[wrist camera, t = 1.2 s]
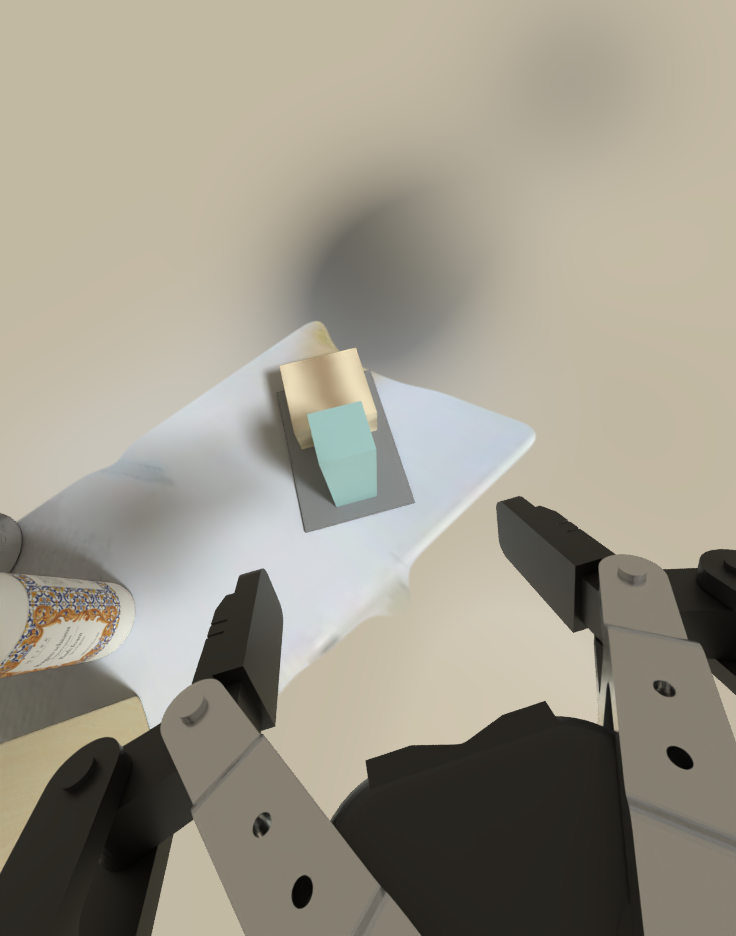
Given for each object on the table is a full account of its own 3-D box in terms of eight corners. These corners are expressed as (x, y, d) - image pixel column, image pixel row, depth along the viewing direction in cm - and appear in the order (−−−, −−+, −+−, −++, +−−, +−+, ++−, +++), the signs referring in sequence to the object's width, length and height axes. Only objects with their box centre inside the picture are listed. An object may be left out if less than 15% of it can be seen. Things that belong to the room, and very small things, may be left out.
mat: (306, 532, 37) (305, 532, 36) (277, 394, 43) (276, 392, 43) (414, 502, 37) (414, 502, 37) (370, 371, 44) (370, 370, 44)
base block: (301, 449, 40) (294, 433, 36) (287, 386, 43) (279, 365, 39) (377, 430, 41) (377, 412, 37) (357, 369, 44) (355, 347, 40)
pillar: (336, 507, 37) (318, 464, 26) (327, 469, 39) (306, 414, 28) (376, 496, 38) (376, 449, 26) (365, 459, 39) (361, 400, 28)
